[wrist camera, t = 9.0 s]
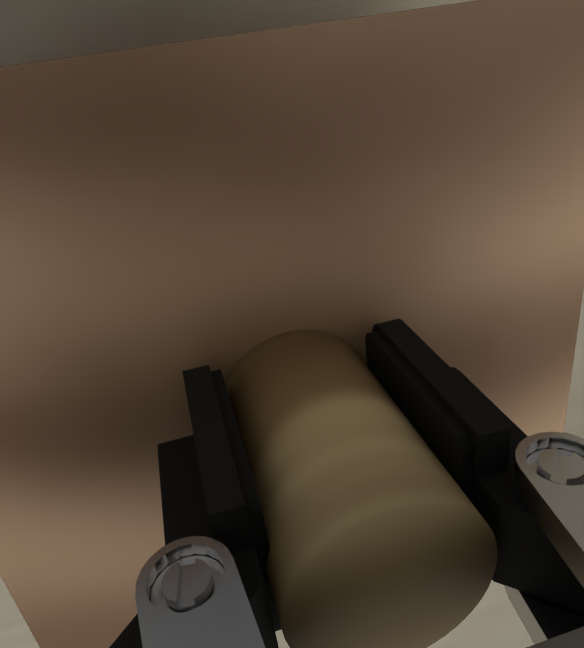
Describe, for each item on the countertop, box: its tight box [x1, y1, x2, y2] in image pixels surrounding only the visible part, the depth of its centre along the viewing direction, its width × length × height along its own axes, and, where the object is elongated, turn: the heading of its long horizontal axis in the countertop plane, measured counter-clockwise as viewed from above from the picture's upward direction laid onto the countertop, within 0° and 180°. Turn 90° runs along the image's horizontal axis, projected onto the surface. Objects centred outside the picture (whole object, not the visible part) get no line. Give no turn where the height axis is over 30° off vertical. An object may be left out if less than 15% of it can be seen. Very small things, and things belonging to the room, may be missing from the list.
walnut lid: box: [0, 0, 584, 648], centre depth 10 cm, size 14×14×6 cm
